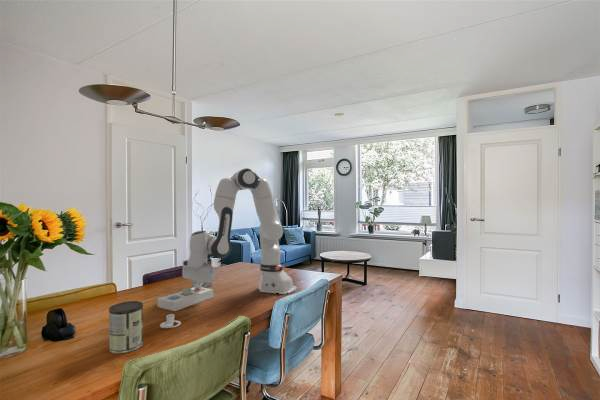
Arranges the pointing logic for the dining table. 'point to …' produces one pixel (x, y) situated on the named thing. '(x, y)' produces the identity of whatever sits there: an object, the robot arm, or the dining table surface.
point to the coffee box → (204, 282)
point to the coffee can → (125, 326)
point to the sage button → (186, 292)
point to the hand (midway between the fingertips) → (198, 289)
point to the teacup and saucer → (170, 322)
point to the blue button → (173, 297)
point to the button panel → (184, 299)
